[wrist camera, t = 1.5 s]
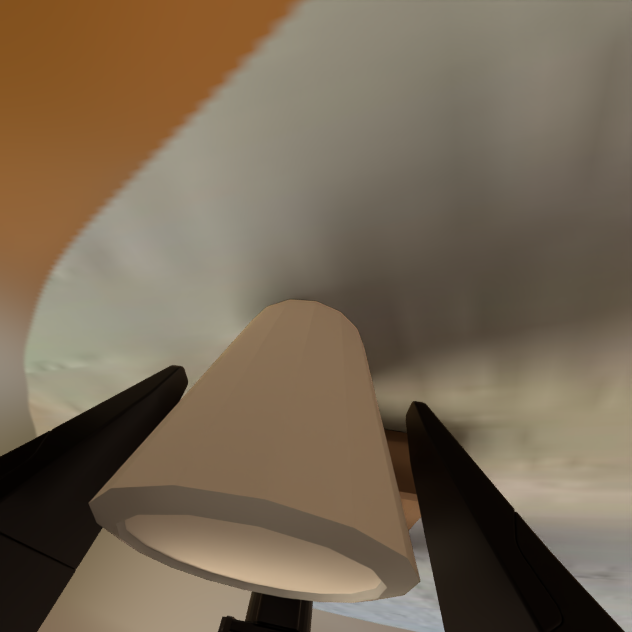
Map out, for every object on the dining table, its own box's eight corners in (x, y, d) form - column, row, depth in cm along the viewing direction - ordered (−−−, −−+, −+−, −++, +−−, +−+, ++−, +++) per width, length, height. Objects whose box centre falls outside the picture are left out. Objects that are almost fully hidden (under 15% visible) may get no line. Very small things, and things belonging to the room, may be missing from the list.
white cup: (210, 295, 10) (-8, 482, 4) (374, 274, 8) (440, 517, 2) (259, 400, 13) (185, 585, 7) (381, 398, 12) (414, 622, 6)
